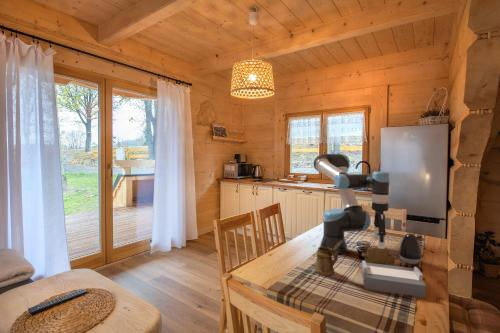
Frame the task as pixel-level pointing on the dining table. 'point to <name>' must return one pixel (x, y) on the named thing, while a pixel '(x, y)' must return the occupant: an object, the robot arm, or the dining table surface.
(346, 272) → the dining table surface
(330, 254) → the wooden mug
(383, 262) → the wooden carving
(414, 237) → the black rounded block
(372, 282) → the open storage tray
